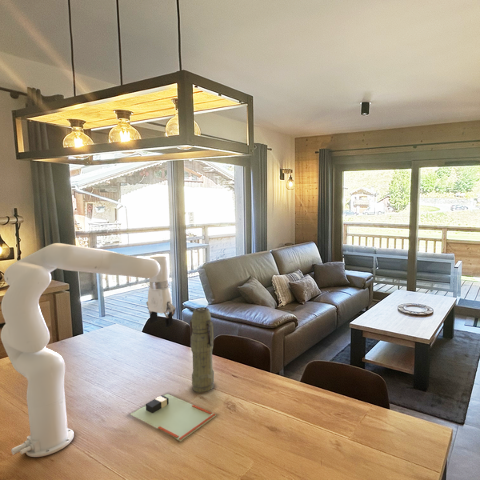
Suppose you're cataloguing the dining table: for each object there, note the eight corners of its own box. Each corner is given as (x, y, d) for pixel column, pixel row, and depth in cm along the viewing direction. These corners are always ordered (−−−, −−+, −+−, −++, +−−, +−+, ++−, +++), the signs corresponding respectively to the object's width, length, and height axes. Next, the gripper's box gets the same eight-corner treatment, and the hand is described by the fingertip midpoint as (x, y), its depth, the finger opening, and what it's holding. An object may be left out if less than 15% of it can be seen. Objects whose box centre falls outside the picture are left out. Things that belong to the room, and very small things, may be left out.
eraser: (152, 413, 129) (152, 407, 129) (145, 410, 131) (145, 403, 131) (168, 404, 135) (168, 397, 135) (162, 401, 137) (161, 394, 137)
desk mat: (180, 441, 115) (180, 439, 115) (129, 415, 129) (129, 413, 129) (216, 415, 129) (216, 414, 129) (167, 394, 143) (167, 392, 143)
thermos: (198, 380, 154) (196, 304, 150) (221, 385, 150) (219, 307, 146) (184, 390, 146) (181, 310, 141) (208, 396, 142) (206, 314, 137)
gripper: (138, 283, 145) (140, 323, 147) (165, 289, 136) (167, 330, 138) (154, 280, 151) (156, 317, 153) (181, 285, 143) (182, 325, 145)
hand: (161, 324), depth 146 cm, fingers open, 9 cm apart
